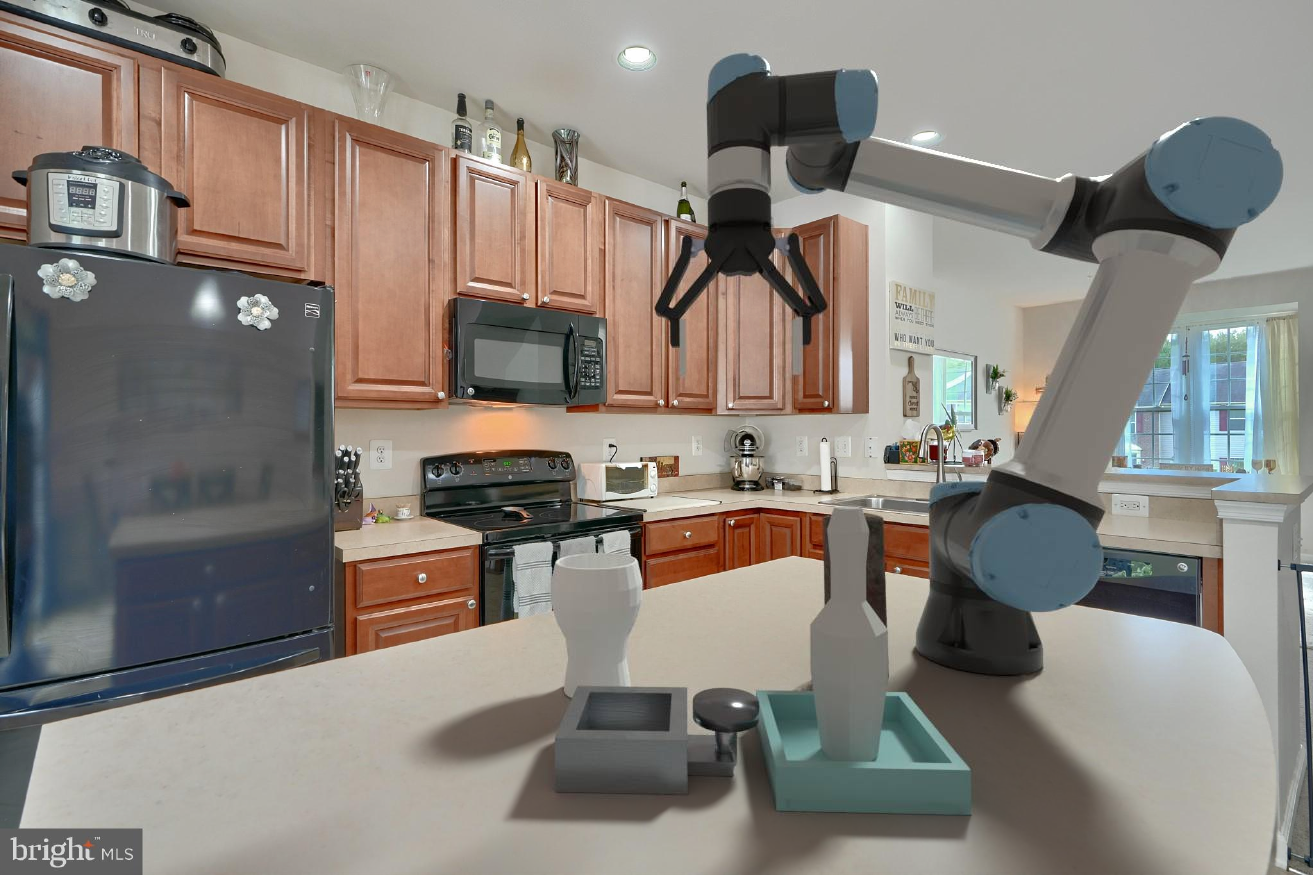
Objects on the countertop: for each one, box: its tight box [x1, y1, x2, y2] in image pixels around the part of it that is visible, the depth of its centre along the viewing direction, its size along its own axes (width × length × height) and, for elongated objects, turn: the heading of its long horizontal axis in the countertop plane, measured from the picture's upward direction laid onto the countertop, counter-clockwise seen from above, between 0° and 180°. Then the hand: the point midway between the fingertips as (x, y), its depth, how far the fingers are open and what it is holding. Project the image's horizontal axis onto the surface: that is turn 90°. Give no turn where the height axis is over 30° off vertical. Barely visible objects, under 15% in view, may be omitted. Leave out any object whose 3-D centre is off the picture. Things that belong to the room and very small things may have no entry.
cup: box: [550, 552, 643, 699], centre depth 75 cm, size 11×11×15 cm
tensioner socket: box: [554, 686, 759, 796], centre depth 58 cm, size 18×11×6 cm, turn 87°
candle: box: [822, 512, 890, 679], centre depth 78 cm, size 8×7×20 cm
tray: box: [755, 689, 972, 816], centre depth 58 cm, size 15×15×4 cm
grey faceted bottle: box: [809, 505, 889, 762], centre depth 58 cm, size 6×6×22 cm
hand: (740, 374), depth 77 cm, fingers open, 13 cm apart
